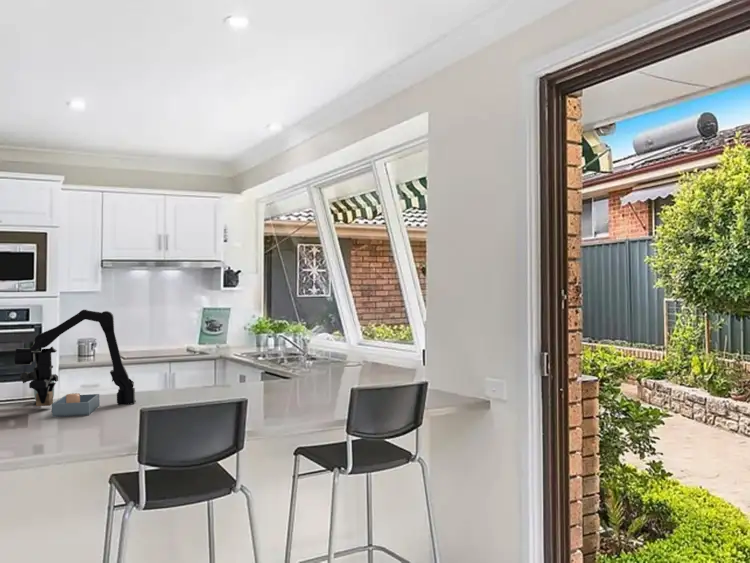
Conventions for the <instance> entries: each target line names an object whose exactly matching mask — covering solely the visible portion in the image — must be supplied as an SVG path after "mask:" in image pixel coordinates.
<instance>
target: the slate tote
mask: <svg viewBox="0 0 750 563" xmlns="http://www.w3.org/2000/svg"><path fill="white" fill-rule="evenodd" d="M66 395H67V394H65V395H64V396H62V397H60V398H58V399H57V400H56V401H55V402H54V401H53V404H51V418H57V417H58V418H61V417H79V416H80V417H81V416H82V417H83V416H90V415H92V413H94V412H95V411H96V410H97V409H98V408H99V407H100V404H101V402H100V393H93V394H91V393H90V394H89V393H88V394H80V403H66Z"/></svg>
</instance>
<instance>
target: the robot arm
mask: <svg viewBox="0 0 750 563" xmlns="http://www.w3.org/2000/svg"><path fill="white" fill-rule="evenodd" d="M85 320H86V321H87V320H88V321H91V322H96V323H99V325H100V327H101V329H102V331H103V333H104V336H105V340H106V343H107V347H108V351H109V356H110V359H111V363H112V369H111V370H110V371H109V373H110V375H111V382H113V383H114V385H115V386H117V387H118V390H117V393H116V403H117V405H118V406H120V405H121V406H122V405H134V404H135V403H136V401H137V400H136V388H135V387H134V386H135V384H134V383H135V382H134V381H133V380H132V379H131V378H129V373H128V372H127V370H126V367H125V366H124V364H123V361H122V356H121V353H120V349H119V346H118V345H119V344H118V341H117V337H116V333H115V321H114V320H115V319H114V313H112V312H111V311H109V310H105V311H102V312H100V311H95V310H93V311H92V310H88V309H82V310H80V311H79V312H78V313H76V314H74V315H73V316H72V317H70V318H68V319H67V320H66V321H64V322H62V323H60V324H59V325H57V326H56V327H53V328H51V329H48V330H46V331H44V332H42V333H39V334H38V335H37V336H35V338H34V344H33V345H31V346H30V347H27V348H20V347H19V348H15V352H14V365H15V366H28V365H30V366H31V365H32V363H35V366H34V368H33V371H30V372H28V371H25V372H21V375H20V376H19V378H20V380H19V381H21V382H22V384H25V383H27V382H29V384H28V388H29V389H33V390H34V389H35V390H36V391H37V393H38V395H39V398H40V401H41V403H44V402H45V400H46V397H47V394H48V391H52V390H53V388H54V389H55V386H56V384H57V382H58V381H59V376H58V375H57V374H56V373H55V374H54V373H53V371H52V370H53V368H54V365H53V363H52V354H53V353H56V352H57V351H58V350H57V349H56V348H54V346H50V348H47V347H49V345H51V344H52V343H53V342H54V341H55V340H56V339H57V338H59V337H60V336H61V335H62V334H64V333H65V332H67V331H68V330H70V329H72V328H74V327H75V326H76V325H78V324H80V323H81V322H83V321H85ZM38 349H41V350H39V351H38ZM52 381H54V383H52Z"/></svg>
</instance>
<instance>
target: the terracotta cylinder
mask: <svg viewBox="0 0 750 563" xmlns="http://www.w3.org/2000/svg"><path fill="white" fill-rule="evenodd" d="M65 395H66V403H80V395H81V393H77V392H76V393H74V392H72V393H67V394H65Z"/></svg>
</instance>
